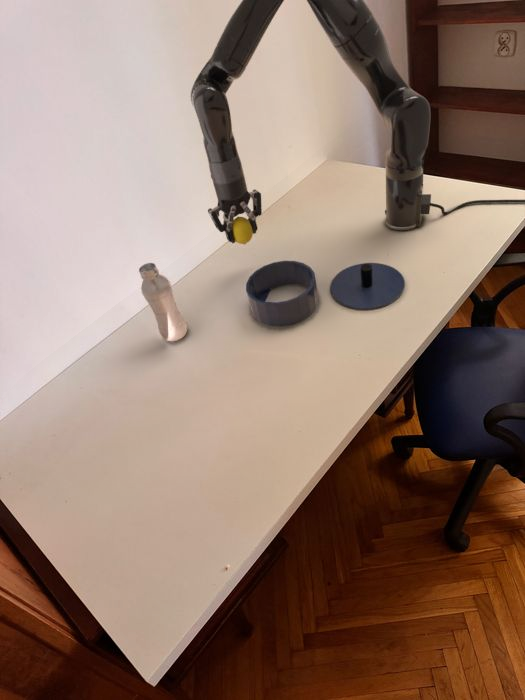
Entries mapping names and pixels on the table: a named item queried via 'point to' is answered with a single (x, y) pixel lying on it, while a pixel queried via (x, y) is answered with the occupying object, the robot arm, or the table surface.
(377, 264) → the pot lid
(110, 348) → the table surface
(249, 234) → the lemon
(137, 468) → the table surface
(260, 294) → the pot
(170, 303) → the plastic bottle
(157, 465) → the table surface
